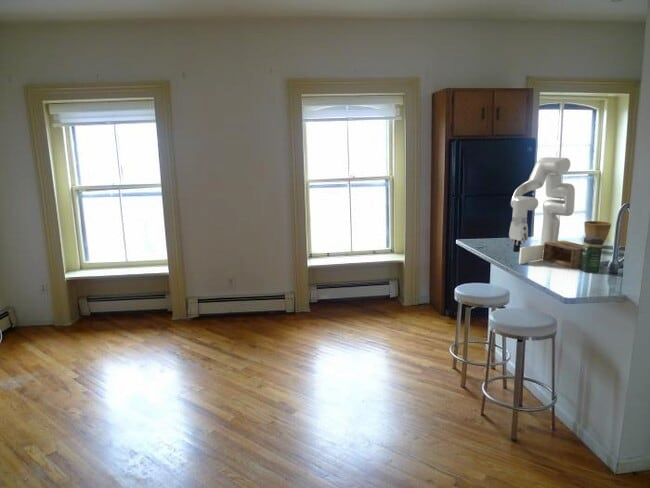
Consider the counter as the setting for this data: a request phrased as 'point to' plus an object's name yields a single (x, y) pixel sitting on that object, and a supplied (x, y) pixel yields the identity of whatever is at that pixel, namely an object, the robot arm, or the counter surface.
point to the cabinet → (563, 253)
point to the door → (531, 253)
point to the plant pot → (597, 229)
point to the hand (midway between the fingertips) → (516, 251)
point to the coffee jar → (591, 254)
